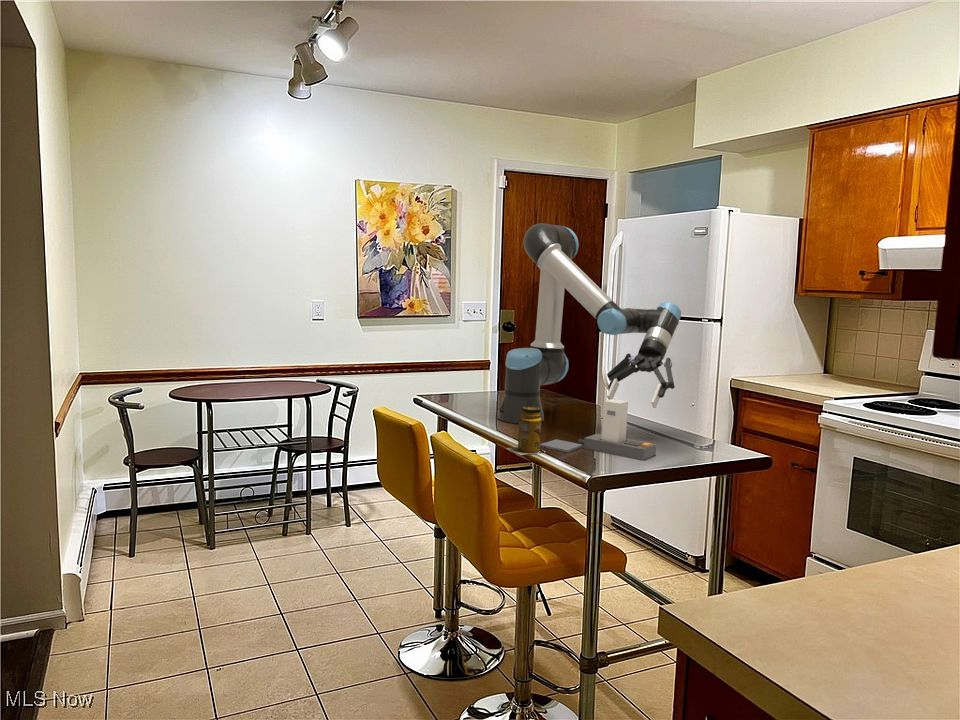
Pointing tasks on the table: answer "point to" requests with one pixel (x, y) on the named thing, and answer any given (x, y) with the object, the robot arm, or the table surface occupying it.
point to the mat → (561, 445)
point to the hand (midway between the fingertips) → (630, 401)
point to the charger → (614, 421)
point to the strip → (620, 447)
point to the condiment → (528, 431)
